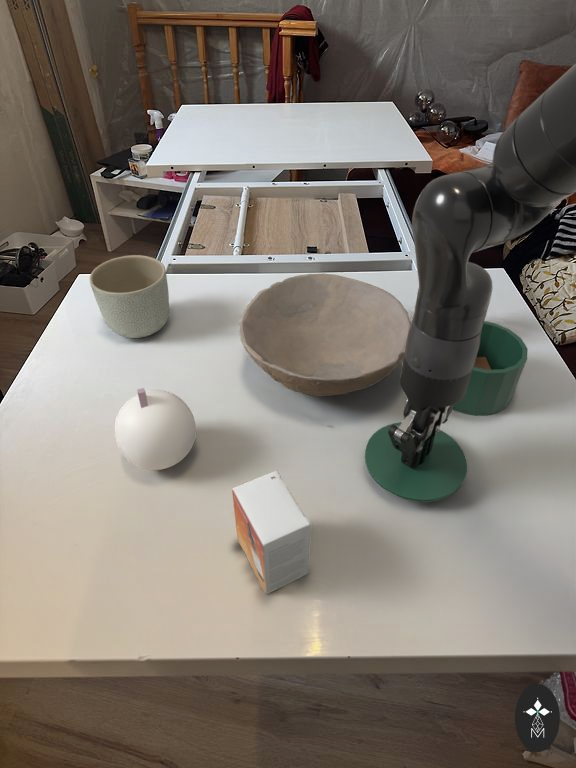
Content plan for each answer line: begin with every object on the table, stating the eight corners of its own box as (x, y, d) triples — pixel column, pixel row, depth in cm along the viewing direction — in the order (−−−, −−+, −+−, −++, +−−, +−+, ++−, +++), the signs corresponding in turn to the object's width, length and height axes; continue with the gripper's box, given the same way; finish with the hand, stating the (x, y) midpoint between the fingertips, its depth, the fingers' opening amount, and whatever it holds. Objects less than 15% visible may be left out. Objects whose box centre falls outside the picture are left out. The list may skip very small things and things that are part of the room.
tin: (524, 385, 84) (541, 342, 78) (487, 428, 77) (503, 385, 71) (454, 352, 90) (465, 310, 84) (414, 389, 83) (423, 346, 78)
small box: (236, 539, 64) (230, 486, 57) (278, 521, 66) (276, 467, 59) (265, 597, 59) (261, 546, 52) (309, 575, 61) (312, 523, 54)
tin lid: (483, 460, 71) (494, 431, 67) (431, 523, 64) (440, 495, 60) (400, 413, 77) (405, 384, 74) (344, 466, 70) (347, 437, 67)
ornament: (111, 451, 74) (89, 388, 66) (175, 417, 79) (161, 354, 71) (147, 498, 68) (128, 435, 60) (213, 458, 73) (204, 395, 65)
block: (479, 376, 85) (485, 356, 82) (486, 393, 82) (493, 373, 79) (454, 376, 85) (459, 357, 82) (460, 393, 82) (466, 374, 79)
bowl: (309, 456, 73) (311, 405, 67) (212, 357, 89) (206, 308, 82) (439, 380, 85) (452, 330, 78) (332, 304, 101) (335, 257, 94)
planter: (141, 356, 90) (128, 301, 82) (90, 333, 94) (73, 279, 87) (188, 319, 97) (180, 266, 90) (138, 299, 102) (127, 248, 95)
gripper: (436, 404, 53) (411, 506, 64) (500, 339, 60) (467, 442, 72) (374, 371, 56) (360, 473, 68) (441, 314, 64) (419, 415, 75)
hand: (415, 457), depth 70 cm, fingers closed on tin lid, 2 cm apart
